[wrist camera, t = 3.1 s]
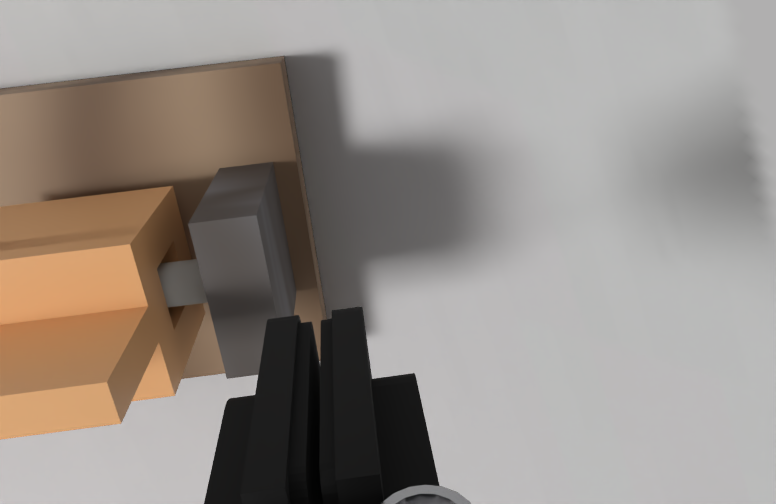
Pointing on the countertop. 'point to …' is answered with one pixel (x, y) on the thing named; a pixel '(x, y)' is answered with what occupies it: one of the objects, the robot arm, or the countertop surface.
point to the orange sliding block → (89, 309)
